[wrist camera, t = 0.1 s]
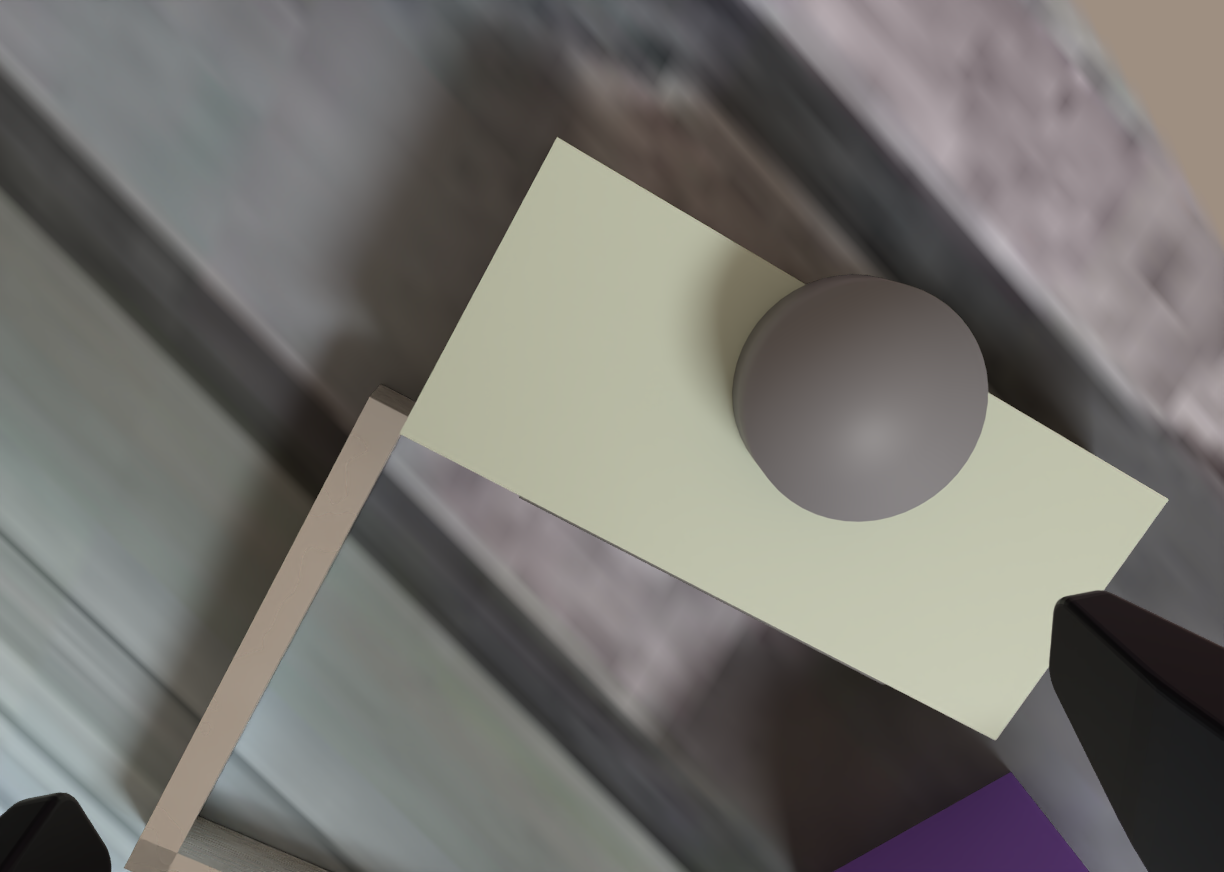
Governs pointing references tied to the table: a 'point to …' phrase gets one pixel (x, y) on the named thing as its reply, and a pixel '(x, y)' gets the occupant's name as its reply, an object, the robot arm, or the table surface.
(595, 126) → the table surface
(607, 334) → the cream railed tray
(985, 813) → the bracket
